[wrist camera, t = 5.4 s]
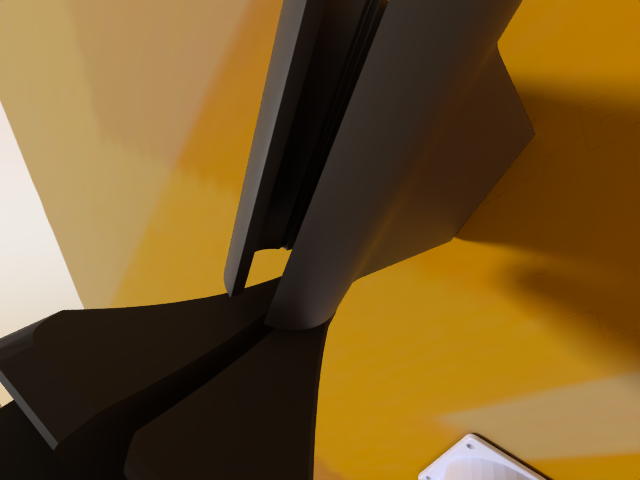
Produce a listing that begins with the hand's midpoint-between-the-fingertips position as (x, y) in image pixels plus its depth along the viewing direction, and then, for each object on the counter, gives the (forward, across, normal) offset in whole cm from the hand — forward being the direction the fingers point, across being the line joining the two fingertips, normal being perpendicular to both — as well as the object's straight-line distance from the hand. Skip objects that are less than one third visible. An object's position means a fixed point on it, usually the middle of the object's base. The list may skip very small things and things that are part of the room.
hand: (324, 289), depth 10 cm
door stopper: (+8, 0, -5) cm, 9 cm away
